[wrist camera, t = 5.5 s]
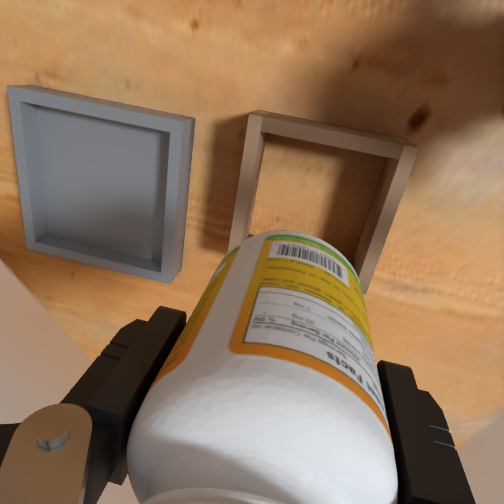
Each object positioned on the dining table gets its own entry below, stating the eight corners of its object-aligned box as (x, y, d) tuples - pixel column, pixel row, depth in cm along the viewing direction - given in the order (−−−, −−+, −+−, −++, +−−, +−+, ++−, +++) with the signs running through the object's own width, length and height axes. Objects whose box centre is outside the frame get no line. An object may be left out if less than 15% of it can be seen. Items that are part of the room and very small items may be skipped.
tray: (32, 85, 26) (6, 85, 24) (195, 118, 25) (183, 121, 23) (47, 237, 31) (26, 249, 29) (181, 269, 30) (170, 284, 28)
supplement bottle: (248, 364, 15) (147, 750, 6) (190, 253, 13) (-57, 577, 5) (380, 337, 13) (487, 809, 5) (335, 204, 12) (372, 572, 3)
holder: (258, 109, 24) (249, 114, 21) (406, 139, 23) (419, 148, 20) (236, 241, 28) (226, 261, 25) (360, 269, 27) (365, 294, 24)
